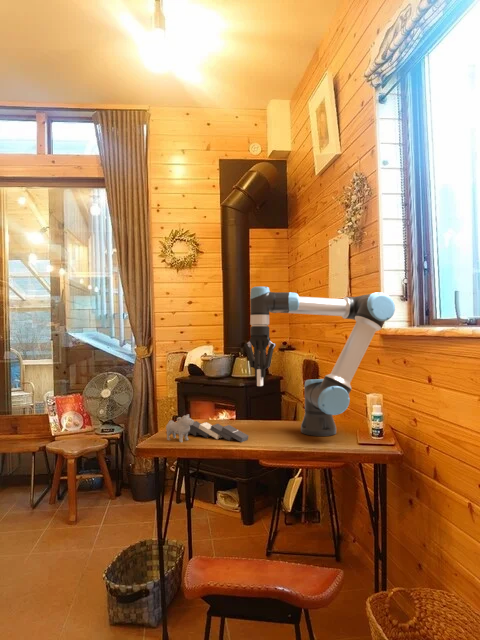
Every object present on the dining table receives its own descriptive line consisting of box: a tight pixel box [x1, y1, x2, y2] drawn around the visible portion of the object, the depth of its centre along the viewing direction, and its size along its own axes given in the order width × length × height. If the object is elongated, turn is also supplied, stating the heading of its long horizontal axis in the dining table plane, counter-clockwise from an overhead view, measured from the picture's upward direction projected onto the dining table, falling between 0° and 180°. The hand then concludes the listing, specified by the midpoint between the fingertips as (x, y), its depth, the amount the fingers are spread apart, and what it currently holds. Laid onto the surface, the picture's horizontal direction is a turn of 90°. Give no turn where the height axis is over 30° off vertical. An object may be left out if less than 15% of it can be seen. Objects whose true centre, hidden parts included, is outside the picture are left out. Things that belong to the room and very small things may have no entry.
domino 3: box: [210, 423, 236, 442], centre depth 185 cm, size 2×5×10 cm
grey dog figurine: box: [165, 413, 195, 443], centre depth 182 cm, size 5×13×11 cm, turn 57°
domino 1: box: [189, 428, 202, 437], centre depth 193 cm, size 2×5×10 cm
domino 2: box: [190, 420, 212, 439], centre depth 190 cm, size 2×5×10 cm
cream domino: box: [199, 422, 223, 440], centre depth 187 cm, size 2×5×10 cm
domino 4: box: [222, 424, 249, 443], centre depth 182 cm, size 2×5×10 cm
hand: (260, 385), depth 177 cm, fingers closed
